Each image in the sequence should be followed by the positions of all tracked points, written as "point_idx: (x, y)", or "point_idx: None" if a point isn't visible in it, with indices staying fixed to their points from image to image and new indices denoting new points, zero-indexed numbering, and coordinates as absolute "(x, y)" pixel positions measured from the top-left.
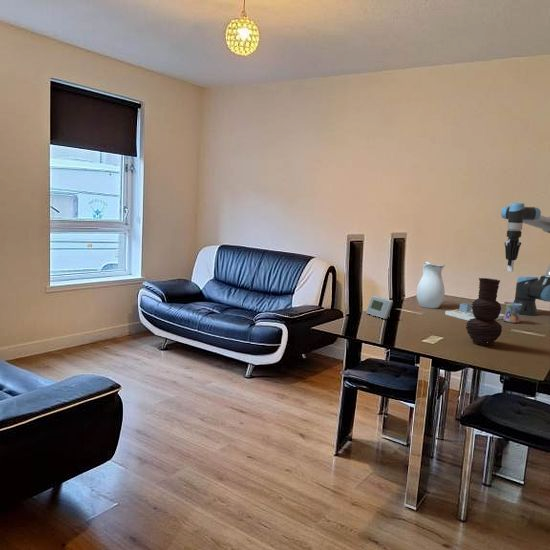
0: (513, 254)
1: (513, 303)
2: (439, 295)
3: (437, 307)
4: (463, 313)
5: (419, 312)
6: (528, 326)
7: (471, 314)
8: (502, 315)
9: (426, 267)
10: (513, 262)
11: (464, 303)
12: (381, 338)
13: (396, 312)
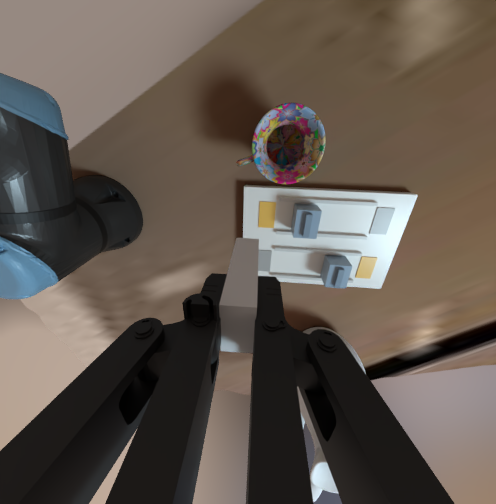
0: (201, 408)
1: (259, 162)
2: None
3: (317, 327)
4: (364, 253)
5: (414, 317)
6: (294, 64)
7: (359, 234)
8: (266, 189)
9: None
10: (233, 285)
11: (341, 281)
12: None
13: (470, 335)
